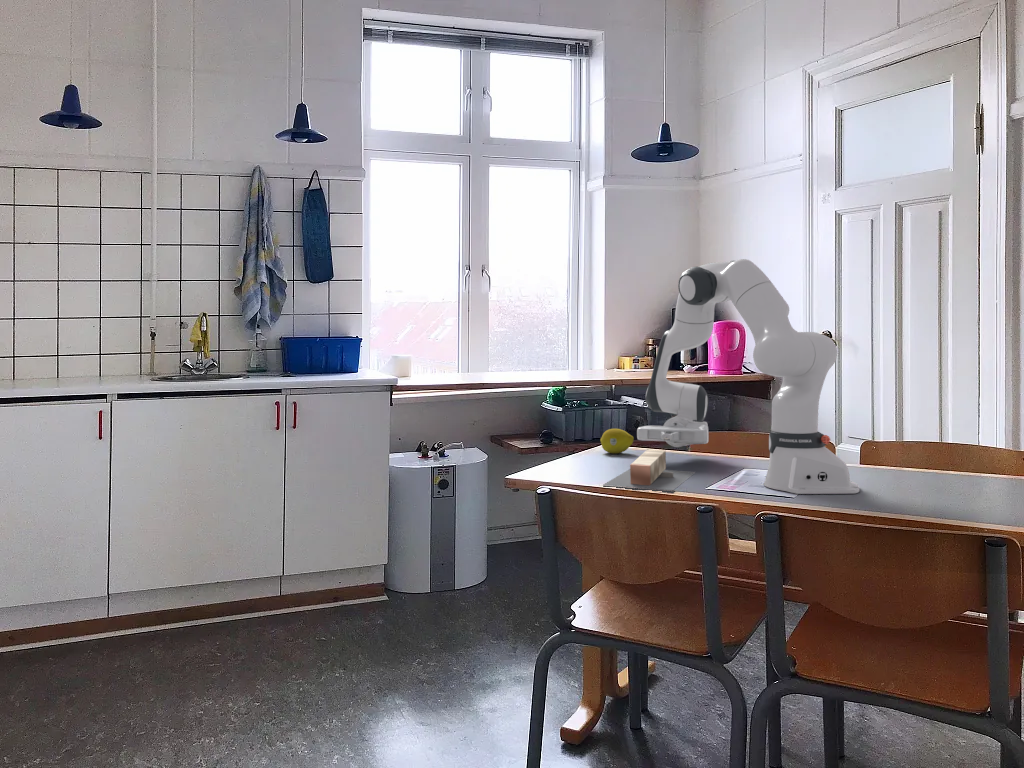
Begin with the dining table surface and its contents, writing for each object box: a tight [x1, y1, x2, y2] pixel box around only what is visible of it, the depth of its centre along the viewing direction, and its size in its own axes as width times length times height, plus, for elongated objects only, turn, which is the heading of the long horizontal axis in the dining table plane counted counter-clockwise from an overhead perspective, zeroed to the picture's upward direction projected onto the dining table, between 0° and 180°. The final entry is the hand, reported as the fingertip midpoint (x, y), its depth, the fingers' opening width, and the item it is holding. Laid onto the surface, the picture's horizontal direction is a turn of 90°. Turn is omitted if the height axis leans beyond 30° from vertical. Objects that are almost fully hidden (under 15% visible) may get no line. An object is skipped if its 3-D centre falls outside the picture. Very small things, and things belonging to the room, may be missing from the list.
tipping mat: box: [602, 468, 697, 494], centre depth 218 cm, size 26×18×2 cm
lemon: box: [599, 428, 634, 455], centre depth 263 cm, size 11×8×8 cm
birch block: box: [629, 449, 667, 485], centre depth 217 cm, size 5×5×16 cm
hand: (666, 437), depth 231 cm, fingers closed
